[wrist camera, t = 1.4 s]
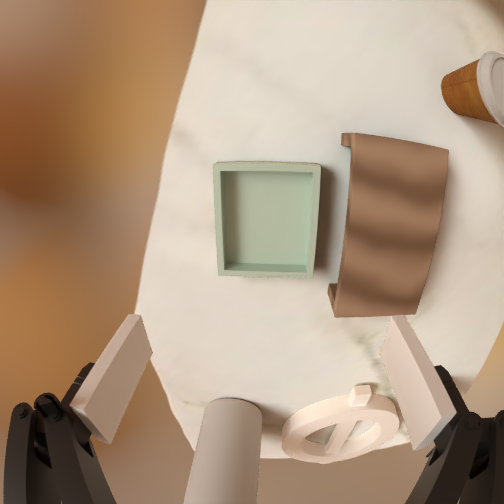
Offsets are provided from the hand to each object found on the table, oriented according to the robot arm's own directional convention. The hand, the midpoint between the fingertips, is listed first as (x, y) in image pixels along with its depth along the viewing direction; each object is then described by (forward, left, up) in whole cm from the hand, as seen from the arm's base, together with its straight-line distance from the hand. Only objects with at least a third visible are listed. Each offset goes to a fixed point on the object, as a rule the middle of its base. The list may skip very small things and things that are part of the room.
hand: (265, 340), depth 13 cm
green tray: (0, 0, -23) cm, 23 cm away
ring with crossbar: (+50, +19, -24) cm, 59 cm away
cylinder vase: (+43, -6, -24) cm, 50 cm away
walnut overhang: (0, +15, -23) cm, 27 cm away
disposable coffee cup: (-20, +27, -24) cm, 40 cm away
